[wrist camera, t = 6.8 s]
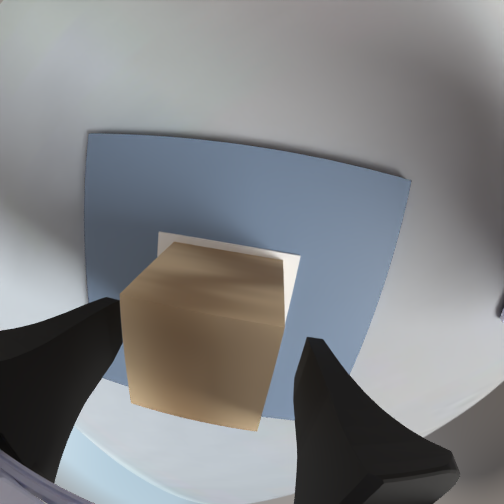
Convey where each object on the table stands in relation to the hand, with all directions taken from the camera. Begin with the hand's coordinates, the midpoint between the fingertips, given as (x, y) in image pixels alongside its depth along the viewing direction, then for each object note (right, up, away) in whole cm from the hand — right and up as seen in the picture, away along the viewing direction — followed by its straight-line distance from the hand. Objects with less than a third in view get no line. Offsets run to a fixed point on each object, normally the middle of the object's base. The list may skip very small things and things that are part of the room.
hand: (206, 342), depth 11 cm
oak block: (0, +1, +2) cm, 3 cm away
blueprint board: (0, +1, +3) cm, 3 cm away
